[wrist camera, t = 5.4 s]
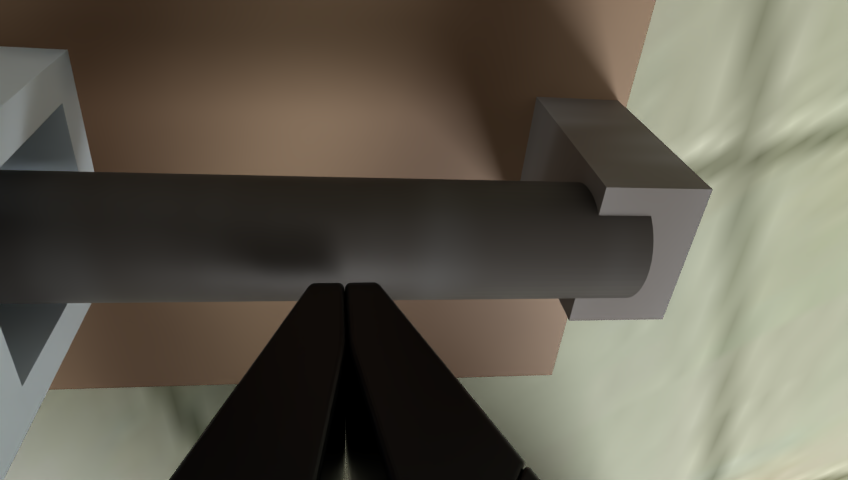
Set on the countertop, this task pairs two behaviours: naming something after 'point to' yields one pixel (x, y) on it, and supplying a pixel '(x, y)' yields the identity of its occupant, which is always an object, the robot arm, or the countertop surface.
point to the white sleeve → (37, 151)
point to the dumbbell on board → (344, 178)
